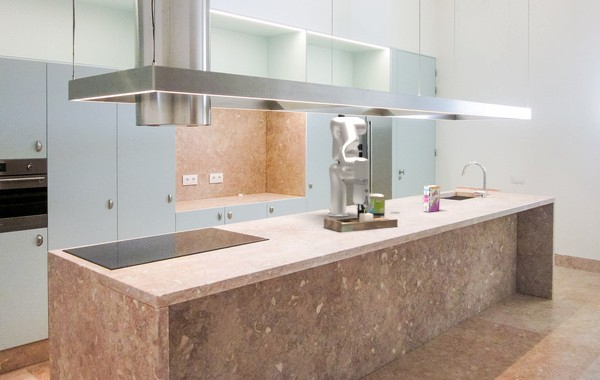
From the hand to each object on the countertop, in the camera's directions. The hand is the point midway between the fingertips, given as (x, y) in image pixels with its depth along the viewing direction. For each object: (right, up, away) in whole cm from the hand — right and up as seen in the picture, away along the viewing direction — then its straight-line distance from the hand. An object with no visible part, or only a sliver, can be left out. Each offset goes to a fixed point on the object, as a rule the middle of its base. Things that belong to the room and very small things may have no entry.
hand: (360, 217), depth 269 cm
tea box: (+10, -3, +24) cm, 26 cm away
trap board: (0, -5, -1) cm, 5 cm away
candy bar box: (+52, 0, +61) cm, 80 cm away
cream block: (+2, -2, -4) cm, 6 cm away
